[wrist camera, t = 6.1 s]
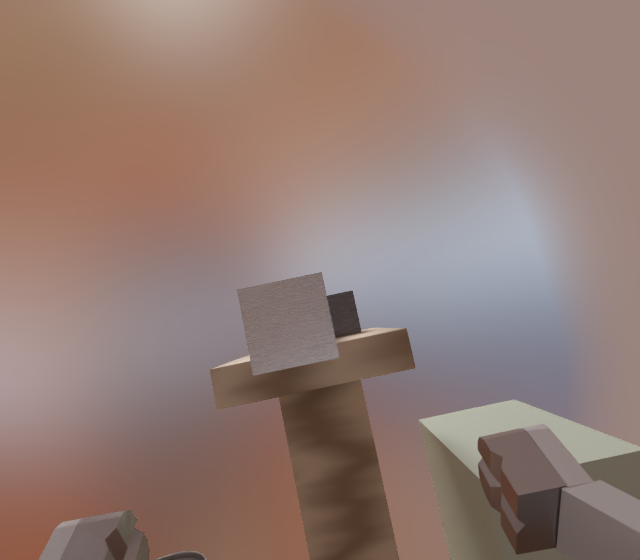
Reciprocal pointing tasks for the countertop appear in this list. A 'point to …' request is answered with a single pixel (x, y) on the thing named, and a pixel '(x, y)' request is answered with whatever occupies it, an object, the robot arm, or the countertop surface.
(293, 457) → the stand
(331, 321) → the hammer
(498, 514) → the pale green box
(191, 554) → the can
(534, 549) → the robot arm
